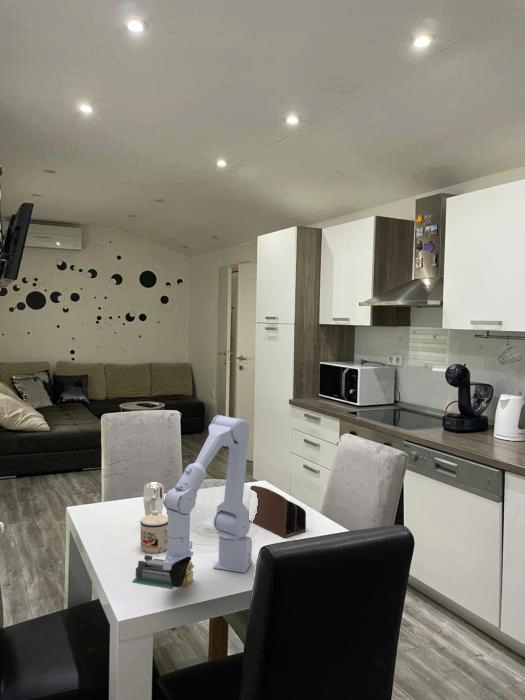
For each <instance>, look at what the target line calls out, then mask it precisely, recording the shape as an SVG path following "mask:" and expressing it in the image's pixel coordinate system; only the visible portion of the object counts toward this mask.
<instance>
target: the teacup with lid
mask: <svg viewBox="0 0 525 700" xmlns="http://www.w3.org/2000/svg"><path fill="white" fill-rule="evenodd" d="M139 523H140V549H141V551H143V552H145V553H148V554H157V553H161V552H166V551H167V544H168V515H165V514H163V513H162V514H160V513H158V511H157V510H154V511H152V514H149V515H147V516H146V515H145V516H142V517H141V519H140V521H139Z"/></svg>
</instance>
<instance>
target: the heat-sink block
mask: <svg viewBox="0 0 525 700" xmlns="http://www.w3.org/2000/svg"><path fill="white" fill-rule="evenodd" d="M153 560H159V561H164V560H165V559H160V558H154V559H153ZM132 583H135V584H141V585H148V586H152V585H153V587H154V586H155V587H158V586H159V588H167V589H173V588H174V587H173V586H172V583H171V578H170V574H169V572H168V570H165V569H163V567H157V566H148V567H145V569H143V570H142V576H137V577H136V576H135V578H134V579H133V580H132Z"/></svg>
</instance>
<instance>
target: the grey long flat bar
mask: <svg viewBox="0 0 525 700" xmlns="http://www.w3.org/2000/svg"><path fill="white" fill-rule="evenodd" d="M143 561H146V565H149V566H157V567H163V561H159V560H154V559H152V560H151V559H148V558H146V559H145V558H144V560H143ZM194 568H195V564H192V565H191V566H190V567H189V571H191V570H192V571H193V569H194Z"/></svg>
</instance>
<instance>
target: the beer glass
mask: <svg viewBox="0 0 525 700" xmlns="http://www.w3.org/2000/svg"><path fill="white" fill-rule="evenodd" d="M143 486H144V487H143V495H142V496H143V497H142V498H143V501H142V502H143V508H144V514H145V516H147V515H149V514H152V511H154V510H157V511H158V513H160V514H162V515H163V509H164V503H163V500H165V485H164V484H163V482H159V481H151V482H146V483H144V485H143Z"/></svg>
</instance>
